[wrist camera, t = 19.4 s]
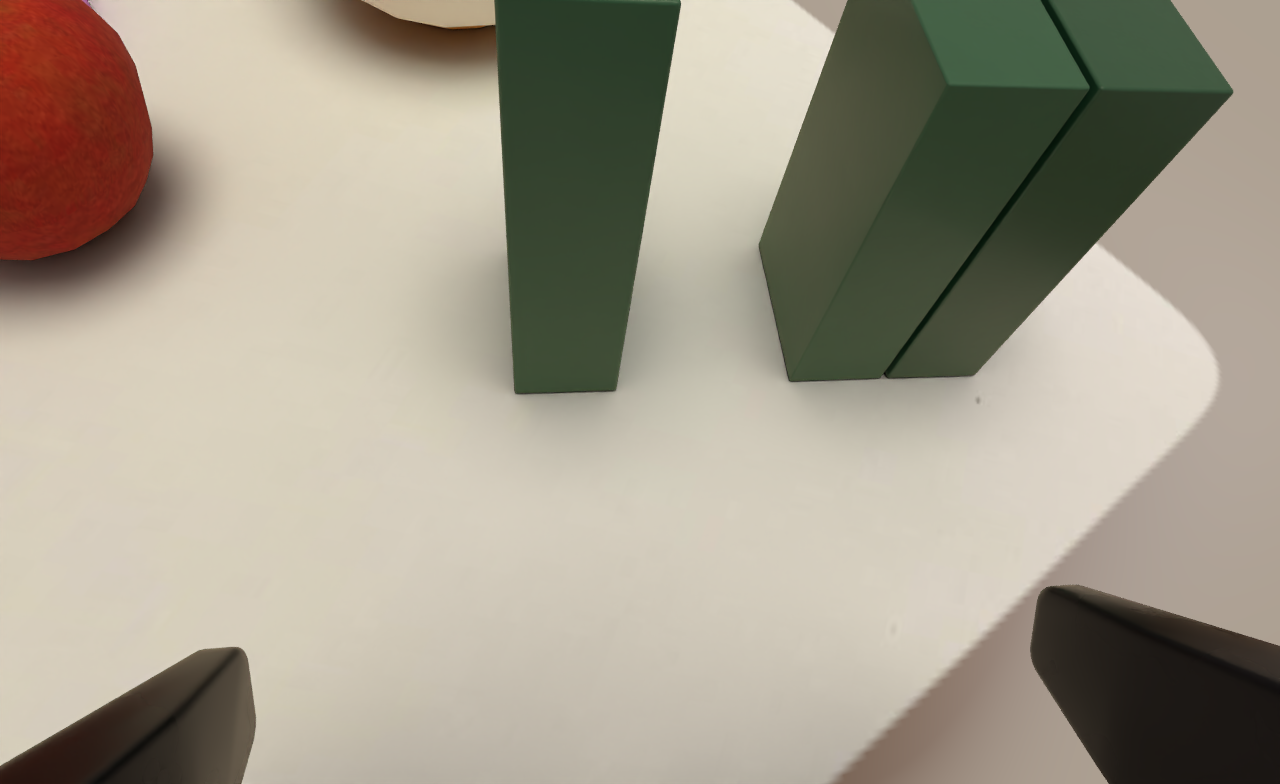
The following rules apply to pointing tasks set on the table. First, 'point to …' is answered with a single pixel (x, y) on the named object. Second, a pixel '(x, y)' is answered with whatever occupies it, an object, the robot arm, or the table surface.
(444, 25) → the cup
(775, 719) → the table surface
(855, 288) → the green books
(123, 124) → the apple
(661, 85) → the green book
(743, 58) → the table surface
